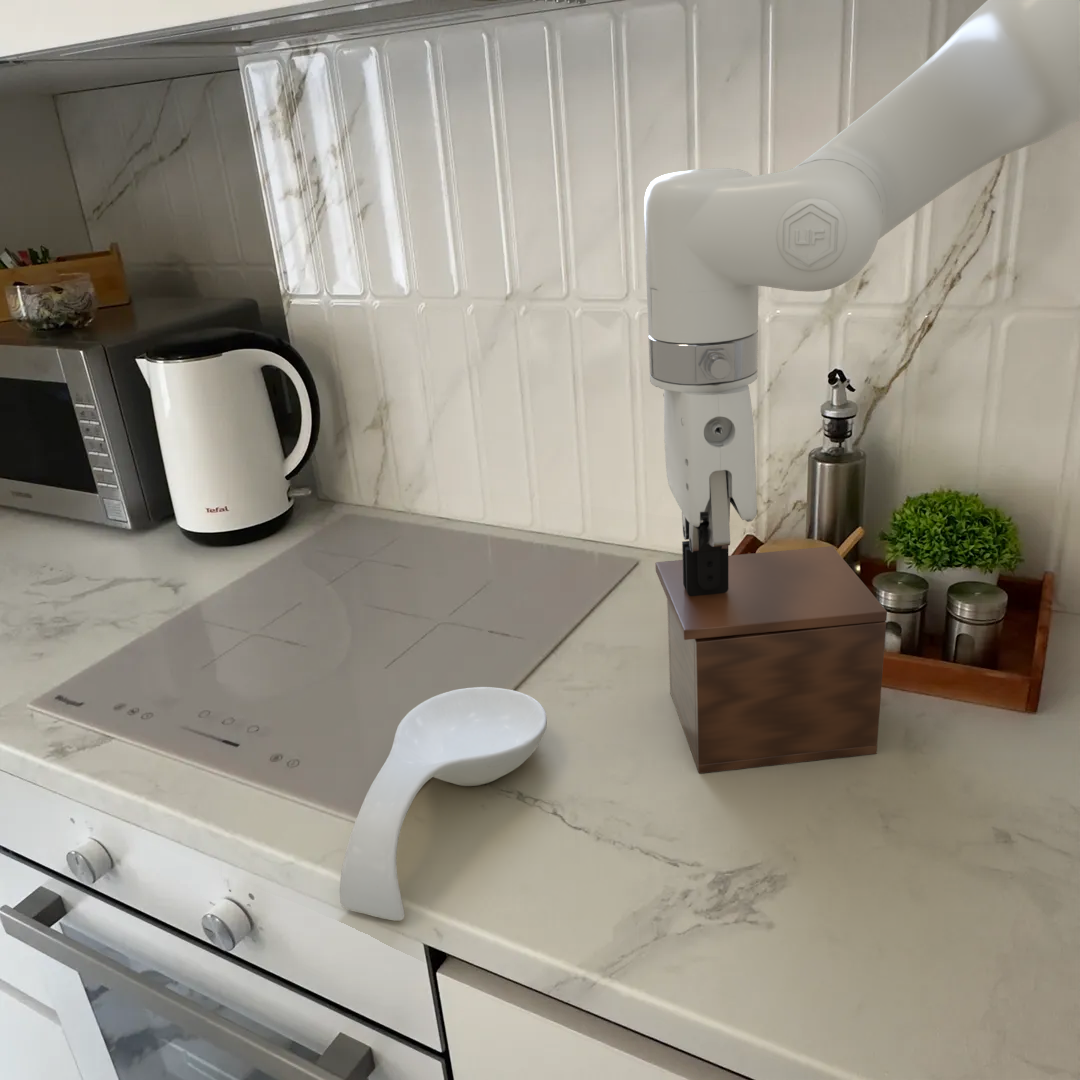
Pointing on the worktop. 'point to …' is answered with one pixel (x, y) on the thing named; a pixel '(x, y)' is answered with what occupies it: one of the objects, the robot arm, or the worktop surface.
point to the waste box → (778, 694)
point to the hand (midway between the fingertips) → (705, 589)
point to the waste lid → (773, 595)
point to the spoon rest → (418, 755)
